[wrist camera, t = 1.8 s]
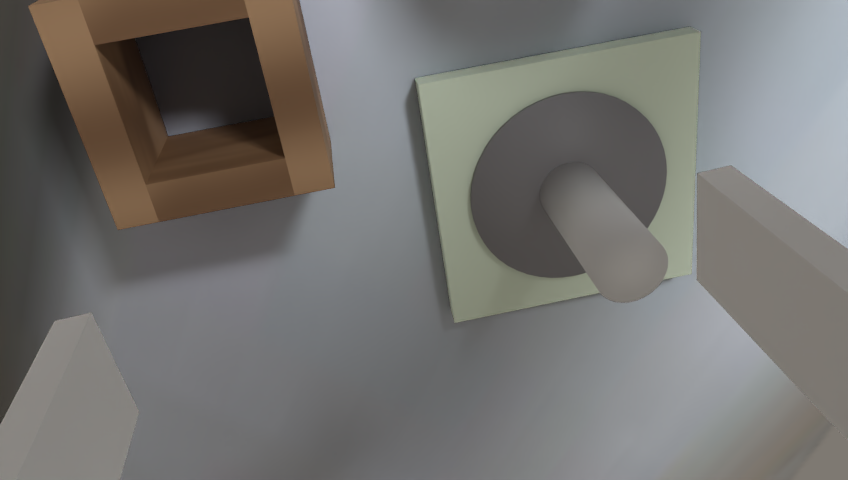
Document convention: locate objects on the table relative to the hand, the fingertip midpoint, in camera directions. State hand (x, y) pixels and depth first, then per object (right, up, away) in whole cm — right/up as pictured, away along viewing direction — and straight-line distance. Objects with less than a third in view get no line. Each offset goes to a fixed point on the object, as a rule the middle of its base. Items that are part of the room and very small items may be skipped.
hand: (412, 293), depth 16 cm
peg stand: (+7, +4, +18) cm, 20 cm away
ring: (-8, +8, +13) cm, 18 cm away
